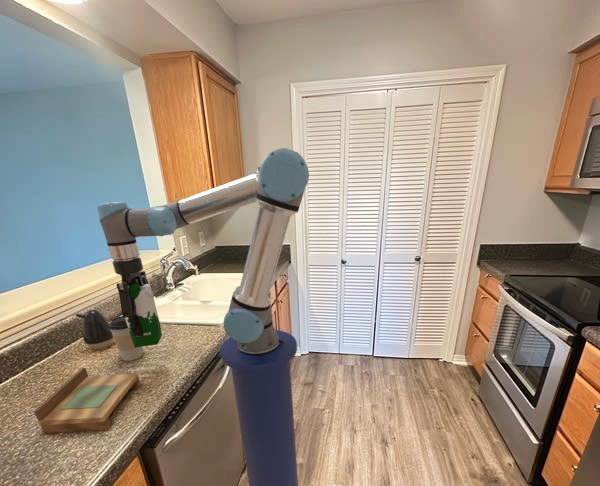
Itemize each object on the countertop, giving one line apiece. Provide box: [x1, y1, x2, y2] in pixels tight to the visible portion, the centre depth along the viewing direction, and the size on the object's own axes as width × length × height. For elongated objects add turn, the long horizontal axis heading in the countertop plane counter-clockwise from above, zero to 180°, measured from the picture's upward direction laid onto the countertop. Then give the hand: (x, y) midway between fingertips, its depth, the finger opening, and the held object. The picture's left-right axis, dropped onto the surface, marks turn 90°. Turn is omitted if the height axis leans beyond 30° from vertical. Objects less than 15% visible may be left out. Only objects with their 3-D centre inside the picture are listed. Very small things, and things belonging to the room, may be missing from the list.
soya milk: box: [117, 283, 163, 348], centre depth 100 cm, size 9×9×20 cm
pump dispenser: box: [75, 309, 115, 350], centre depth 123 cm, size 10×10×15 cm
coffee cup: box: [109, 315, 144, 361], centre depth 115 cm, size 9×9×15 cm
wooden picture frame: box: [33, 367, 141, 434], centre depth 90 cm, size 16×20×7 cm
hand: (145, 328), depth 103 cm, fingers closed on soya milk, 9 cm apart
